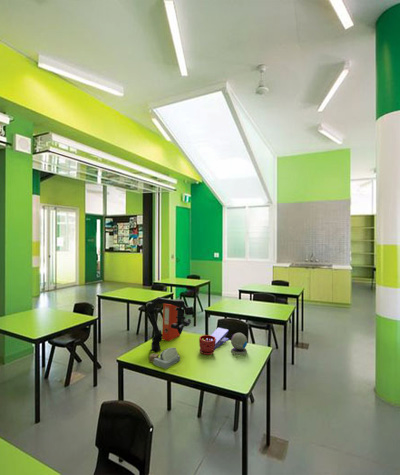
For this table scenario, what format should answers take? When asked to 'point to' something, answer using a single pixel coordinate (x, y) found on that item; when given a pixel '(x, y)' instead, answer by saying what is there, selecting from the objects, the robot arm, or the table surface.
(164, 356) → the hinge
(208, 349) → the plant pot
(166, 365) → the channel jig
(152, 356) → the spacer block
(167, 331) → the file binder
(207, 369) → the table surface
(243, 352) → the webcam
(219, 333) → the stapler
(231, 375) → the table surface
